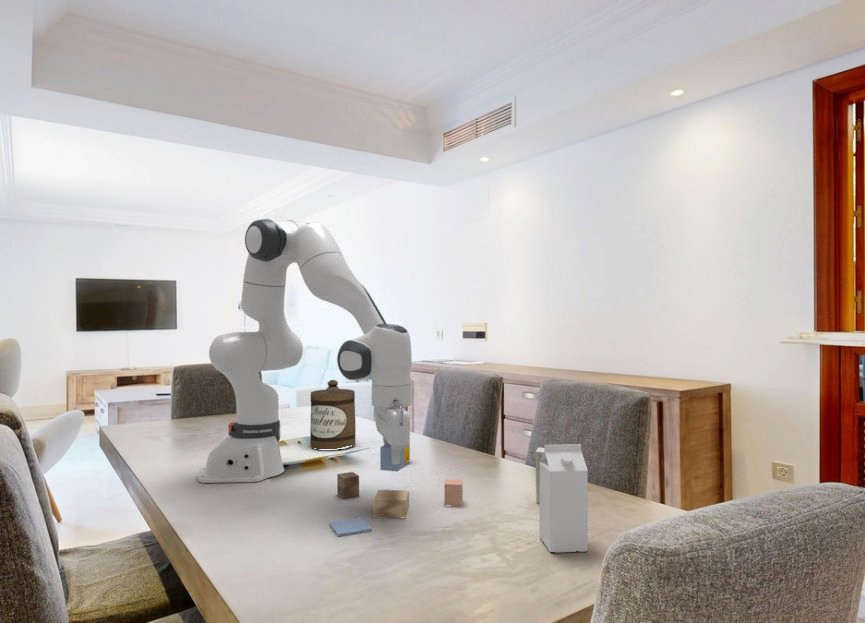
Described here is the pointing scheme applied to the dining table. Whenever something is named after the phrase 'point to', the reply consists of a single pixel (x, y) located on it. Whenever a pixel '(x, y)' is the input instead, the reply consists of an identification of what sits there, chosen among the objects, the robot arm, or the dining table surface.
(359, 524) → the tile
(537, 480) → the skincare box
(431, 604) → the dining table surface
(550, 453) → the milk carton
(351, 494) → the walnut cube
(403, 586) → the dining table surface
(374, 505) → the oak base
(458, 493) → the terracotta cube
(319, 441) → the wooden container
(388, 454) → the blue cube
